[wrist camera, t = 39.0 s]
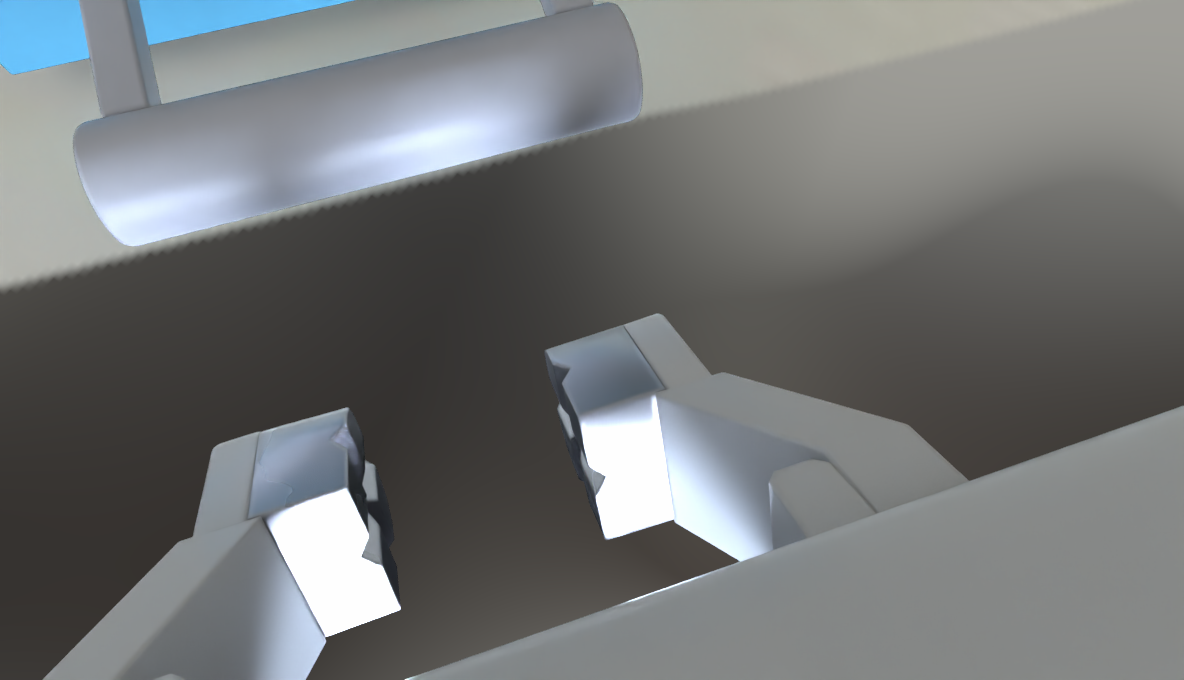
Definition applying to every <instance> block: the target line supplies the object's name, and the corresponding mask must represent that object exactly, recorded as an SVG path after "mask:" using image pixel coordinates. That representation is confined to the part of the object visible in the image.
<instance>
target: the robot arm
mask: <svg viewBox="0 0 1184 680" xmlns="http://www.w3.org/2000/svg"><path fill="white" fill-rule="evenodd" d="M544 353H545V359H546V364H547V368H548V373H549V378H550V381H551V383H552V386H553V388H554V390H555V392H556V395H557V397H558V399H559V402H560V404H559V406H558V408H557V411H558V415H559V418H560V423H561V426H562V430H563V434H564V437H565V441H566V444H567V448H568V451H569V454H570V457H571V459H572V462H573V465H574V467H575V470H576V472H577V475H578V477H579V479H580V480H582V481H584V483H585V487H586V491H587V494H588V499H589V503H590V506H591V508H592V510H593V512H594V514H595V517H596V519H597V521H598V524H599V526H600V528H601V531H602V533H603V535H604V538H605V540H608V539H611V538H614V537H618V536H621V535H624V534H627V533H631V532H634V531H637V530H640V529H644V528H647V527H650V526H653V525H656V524H660V523H663V522H666V521H669V520H673V519H674V521H675V523H677V524H679V525H680V526H682V527H684V528H685V529H687V530H689V531H690V532H692V533H694V534H696V535H697V536H699V537H701V538H702V539H704V540H706V541H707V542H709V543H711V544H712V545H714V546H716V547H717V548H719V549H721V550H723V551H724V552H726V553H727V554H729V555H731V556H733V557H734V558H736V559H738V560H739V561H741V562H738V563H735V564H733V565H730V566H727V567H724V568H721V569H718V570H715V571H713V572H710V573H707V574H704V575H701V576H698V577H696V578H693V579H690V580H687V581H684V582H681V583H678V584H676V585H673V586H670V587H667V588H664V589H661V590H658V591H656V592H653V593H650V594H647V595H644V596H642V597H639V598H636V599H633V600H630V601H627V602H624V603H622V604H619V605H616V606H613V607H610V608H607V609H605V610H602V611H599V612H596V613H593V614H590V615H588V616H585V617H582V618H579V619H577V620H574V621H570V622H568V623H565V624H562V625H559V626H556V627H553V628H551V629H548V630H545V631H542V632H539V633H537V634H534V635H531V636H528V637H525V638H522V639H519V640H517V641H514V642H511V643H508V644H505V645H503V646H500V647H497V648H494V649H491V650H488V651H485V652H482V653H480V654H477V655H474V656H471V657H469V658H466V659H463V660H460V661H457V662H454V663H451V664H449V665H446V666H443V667H440V668H437V669H434V670H431V671H428V672H426V673H423V674H420V675H417V676H414V677H411V678H408V679H406V680H1184V406H1181V407H1178V408H1175V409H1173V410H1170V411H1167V412H1164V413H1161V414H1158V415H1155V416H1153V417H1150V418H1147V419H1144V420H1141V421H1138V422H1136V423H1133V424H1130V425H1127V426H1124V427H1121V428H1119V429H1116V430H1113V431H1110V432H1107V433H1104V434H1101V435H1099V436H1096V437H1093V438H1090V439H1087V440H1084V441H1082V442H1079V443H1076V444H1073V445H1070V446H1067V447H1065V448H1062V449H1059V450H1056V451H1053V452H1050V453H1048V454H1045V455H1042V456H1039V457H1036V458H1034V459H1030V460H1028V461H1025V462H1022V463H1019V464H1017V465H1014V466H1011V467H1008V468H1005V469H1002V470H1000V471H996V472H994V473H991V474H988V475H985V476H982V477H979V478H977V479H974V480H971V481H968V480H967V479H966V478H965V477H964V476H963V475H962V474H961V473H960V472H959V471H958V470H956V469H955V468H954V467H953V466H952V465H951V464H950V463H949V462H948V461H947V460H946V459H945V458H943V457H942V456H941V455H940V454H939V453H938V452H937V451H936V450H935V449H934V448H932V447H931V446H930V445H929V444H928V443H927V442H926V441H925V440H924V439H923V438H922V437H921V436H919V434H917V433H916V432H915V431H914V430H913V429H912V428H911V427H910V426H909V425H907V424H904V423H901V422H897V421H894V420H890V419H887V418H883V417H880V416H876V415H873V414H869V413H865V412H862V411H858V410H855V409H852V408H848V407H844V406H841V405H837V404H833V403H830V402H827V401H823V400H820V399H816V398H812V397H809V396H806V395H802V394H798V393H795V392H791V391H788V390H784V389H781V388H777V387H774V386H770V385H767V384H763V383H759V382H756V381H752V380H749V379H745V378H742V377H738V376H734V375H731V374H728V373H724V372H722V373H718V374H715V375H711V374H710V373H709V371H708V370H707V369H706V368H705V366H704V365H703V364H702V363H701V361H700V360H699V359H698V358H697V357H696V355H695V354H694V353H693V352H692V350H691V349H690V348H689V346H688V345H687V344H686V343H685V341H684V340H683V339H682V338H681V337H680V335H679V334H678V333H677V332H676V330H675V329H674V328H673V327H672V325H671V324H670V323H669V322H668V320H667V319H666V318H665V317H664V316H663V315H661V314H658V313H657V314H654V315H651V316H648V317H645V318H642V319H639V320H636V321H633V322H630V323H627V324H625V325H621V326H618V327H615V328H612V329H609V330H606V331H603V332H599V333H596V334H593V335H591V336H587V337H584V338H581V339H578V340H575V341H572V342H569V343H565V344H562V345H559V346H556V347H553V348H550V349H547V350H545V351H544ZM393 541H394V533H393V525H392V519H391V514H390V510H389V505H388V501H387V497H386V495H385V491H384V488H383V485H382V482H381V480H380V477H379V474H378V472H377V469H376V467H375V465H373V464H372V463H370V462H368V461H366V460H365V456H364V441H363V435H362V432H361V430H360V428H359V426H358V423H357V421H356V419H355V416H354V414H353V413H352V412H351V410H350V409H349V408H344V409H341V410H337V411H334V412H330V413H326V414H323V415H319V416H316V417H312V418H308V419H304V420H301V421H297V422H294V423H290V424H286V425H283V426H279V427H275V428H272V429H268V430H264V431H263V432H256V433H252V434H249V435H246V436H243V437H239V438H236V439H233V440H230V441H227V442H224V443H221V444H219V445H217V446H216V447H214V448H213V450H212V453H211V458H210V463H209V467H208V471H207V476H206V480H205V484H204V489H203V494H202V498H201V503H200V507H199V511H198V516H197V521H196V525H195V529H194V534H193V537H192V538H189V539H186V540H182V541H179V542H178V543H177V544H176V545H175V546H174V547H173V548H172V549H171V550H170V551H169V552H168V553H167V554H166V555H165V556H164V557H163V558H162V559H161V560H160V562H158V563H157V564H156V565H155V566H154V567H153V568H152V569H151V570H150V572H148V573H147V574H146V576H144V577H143V578H142V579H141V580H140V582H138V584H137V585H136V586H135V587H134V588H133V589H132V590H131V591H130V592H129V593H128V594H127V595H126V596H125V597H124V598H123V599H122V600H121V601H120V602H119V603H118V604H117V605H116V606H115V607H114V608H113V609H112V610H111V611H110V612H109V613H108V614H107V615H106V616H105V617H104V618H103V619H102V620H101V621H100V622H99V623H98V624H97V625H96V626H95V627H94V628H93V629H92V630H91V631H90V632H89V633H88V634H87V635H86V636H85V637H84V638H83V639H82V640H81V641H80V642H79V643H78V644H77V645H76V646H75V647H74V649H72V650H71V651H70V652H69V653H68V654H67V655H66V656H65V657H64V658H63V659H62V660H61V662H60V663H59V664H58V665H57V666H56V667H55V668H54V669H53V670H52V671H51V672H50V673H49V674H48V675H47V676H46V677H45V678H44V679H43V680H306V678H307V676H308V674H309V672H310V671H311V669H312V667H313V665H314V663H315V661H316V659H317V658H318V656H319V654H320V652H321V650H322V648H323V646H324V645H325V643H326V640H325V638H324V637H327V636H330V635H332V634H335V633H338V632H341V631H343V630H346V629H349V628H352V627H354V626H357V625H360V624H362V623H365V622H368V621H371V620H373V619H376V618H379V617H382V616H384V615H387V614H390V613H392V612H395V611H398V610H400V598H399V586H398V575H397V566H396V563H395V561H394V559H393V556H392V554H391V551H390V549H389V546H390V545H391V544H392V542H393Z"/></svg>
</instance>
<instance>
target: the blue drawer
mask: <svg viewBox="0 0 1184 680" xmlns="http://www.w3.org/2000/svg"><path fill="white" fill-rule="evenodd" d="M350 1H355V0H0V64H1V65H2V66H3V67H4V68H5V69H6V70H7V71H8V72H9V73H11V74H19V73H24V72H28V71H33V70H38V69H42V68H47V67H51V66H56V65H61V64H65V63H70V62H74V61H79V60H84V59H88V58H90V61H91V66H92V71H93V76H94V81H95V86H96V92H97V97H98V102H99V107H100V112H101V115H102V117H103V118H100V119H96V120H92V121H87V122H84V123H82V124H81V125H80V126H78V127H77V129H76V130H75V133H74V137H73V149H74V156H75V161H76V166H77V170H78V174H79V177H80V180H81V183H82V185H83V188H84V190H85V193H86V195H87V197H88V199H89V201H90V203H91V205H92V207H93V209H94V211H95V212H96V214H97V215H98V217H99V219H100V220H101V221H102V223H103V224H104V226H105V227H106V228H107V230H108V231H109V232H110V233H111V234H112V235H113V236H114V237H115V238H116V239H117V240H118V241H119V242H121V243H122V244H125V245H129V246H140V245H144V244H148V243H152V242H155V241H159V240H163V239H167V238H171V237H175V236H179V235H183V234H187V233H191V232H195V231H199V230H203V229H207V228H211V227H215V226H218V225H222V224H226V223H230V222H234V221H238V220H242V219H246V218H250V217H254V216H258V215H262V214H266V213H270V212H274V211H278V210H281V209H285V208H289V207H293V206H297V205H301V204H305V203H309V202H313V201H317V200H321V199H325V198H329V197H333V196H337V195H341V194H344V193H348V192H352V191H356V190H360V189H364V188H368V187H372V186H376V185H380V184H384V183H388V182H392V181H396V180H400V179H404V178H407V177H411V176H415V175H419V174H423V173H427V172H431V171H435V170H439V169H443V168H447V167H451V166H455V165H459V164H463V163H467V162H470V161H474V160H478V159H482V158H486V157H490V156H494V155H498V154H502V153H506V152H510V151H514V150H518V149H522V148H526V147H530V146H534V145H537V144H541V143H545V142H549V141H553V140H557V139H561V138H565V137H569V136H573V135H577V134H581V133H585V132H589V131H593V130H597V129H600V128H604V127H608V126H612V125H616V124H620V123H624V122H628V121H632V120H633V119H635V118H636V117H637V116H638V115H639V113H640V110H641V106H642V94H643V85H642V73H641V66H640V60H639V55H638V50H637V47H636V43H635V39H634V36H633V33H632V31H631V28H630V26H629V23H628V21H627V19H626V17H625V15H624V13H623V12H622V10H621V9H620V8H619V7H618V6H617V5H616V4H613V3H609V2H607V3H602V4H598V5H594V6H593V0H540V1H541V4H542V7H543V10H544V13H545V15H546V17H541V18H537V19H533V20H528V21H524V22H519V23H515V24H511V25H506V26H502V27H498V28H493V29H489V30H485V31H480V32H476V33H471V34H467V35H463V36H458V37H454V38H450V39H445V40H441V41H437V42H432V43H428V44H423V45H419V46H415V47H410V48H406V49H402V50H397V51H393V52H388V53H384V54H380V55H375V56H371V57H367V58H362V59H358V60H354V61H349V62H345V63H340V64H336V65H332V66H327V67H323V68H319V69H314V70H310V71H306V72H301V73H297V74H292V75H288V76H284V77H279V78H275V79H271V80H266V81H262V82H257V83H253V84H249V85H244V86H240V87H236V88H231V89H227V90H223V91H218V92H214V93H209V94H205V95H201V96H196V97H192V98H188V99H183V100H179V101H175V102H170V103H166V104H161V100H160V95H159V91H158V86H157V81H156V77H155V72H154V68H153V63H152V59H151V54H150V49H149V45H152V44H157V43H162V42H166V41H171V40H175V39H180V38H185V37H189V36H194V35H198V34H203V33H208V32H212V31H217V30H221V29H226V28H231V27H235V26H240V25H244V24H249V23H254V22H258V21H263V20H267V19H272V18H277V17H281V16H286V15H290V14H295V13H300V12H304V11H309V10H313V9H318V8H323V7H327V6H332V5H336V4H341V3H345V2H350Z"/></svg>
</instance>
